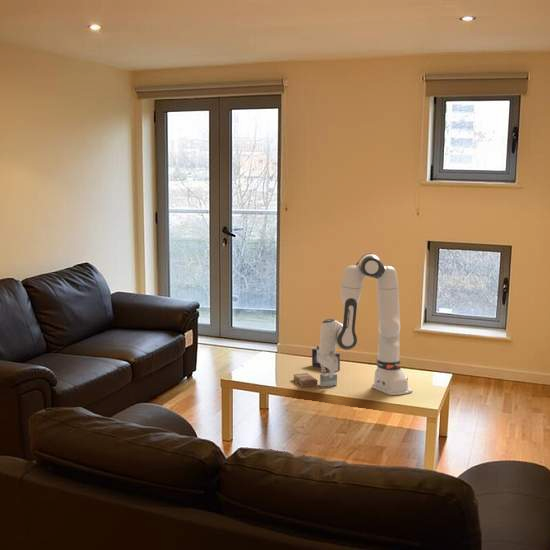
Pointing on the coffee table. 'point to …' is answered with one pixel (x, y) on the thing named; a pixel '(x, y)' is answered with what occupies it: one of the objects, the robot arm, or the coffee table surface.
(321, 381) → the housing
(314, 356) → the vhs cassette tape
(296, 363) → the coffee table surface
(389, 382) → the robot arm
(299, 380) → the walnut stand
